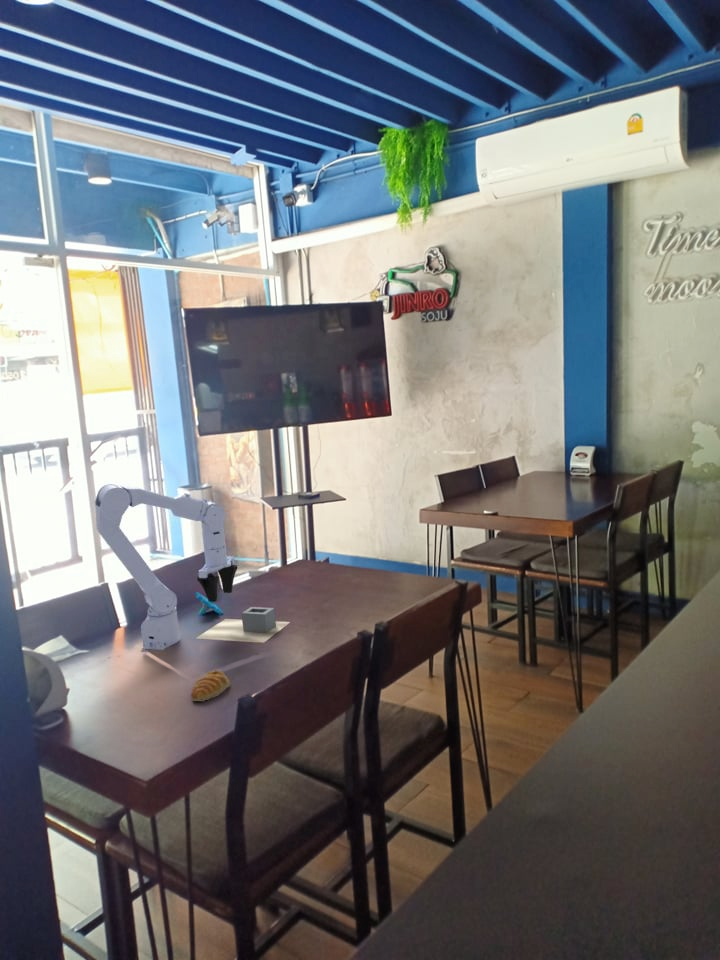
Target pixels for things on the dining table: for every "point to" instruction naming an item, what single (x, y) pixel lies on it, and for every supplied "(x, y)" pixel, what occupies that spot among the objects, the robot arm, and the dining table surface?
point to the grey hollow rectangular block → (258, 619)
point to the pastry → (210, 686)
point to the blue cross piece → (207, 605)
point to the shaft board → (238, 632)
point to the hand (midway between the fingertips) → (220, 596)
